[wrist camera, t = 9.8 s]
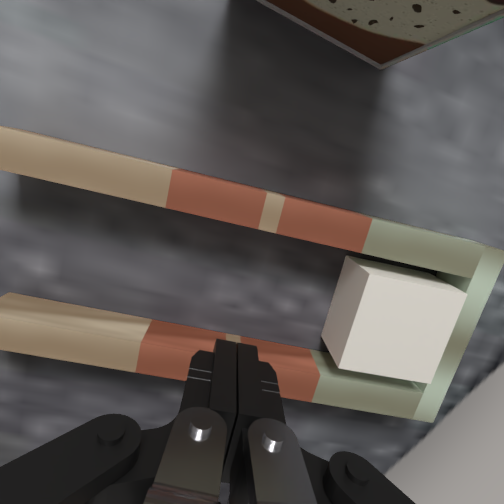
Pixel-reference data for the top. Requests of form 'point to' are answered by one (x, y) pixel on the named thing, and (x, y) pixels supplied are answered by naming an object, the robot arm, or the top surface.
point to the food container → (389, 23)
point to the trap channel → (193, 339)
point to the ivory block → (390, 320)
